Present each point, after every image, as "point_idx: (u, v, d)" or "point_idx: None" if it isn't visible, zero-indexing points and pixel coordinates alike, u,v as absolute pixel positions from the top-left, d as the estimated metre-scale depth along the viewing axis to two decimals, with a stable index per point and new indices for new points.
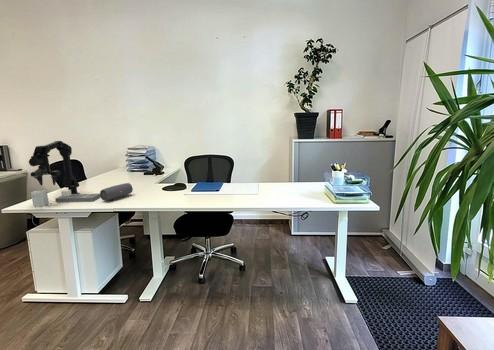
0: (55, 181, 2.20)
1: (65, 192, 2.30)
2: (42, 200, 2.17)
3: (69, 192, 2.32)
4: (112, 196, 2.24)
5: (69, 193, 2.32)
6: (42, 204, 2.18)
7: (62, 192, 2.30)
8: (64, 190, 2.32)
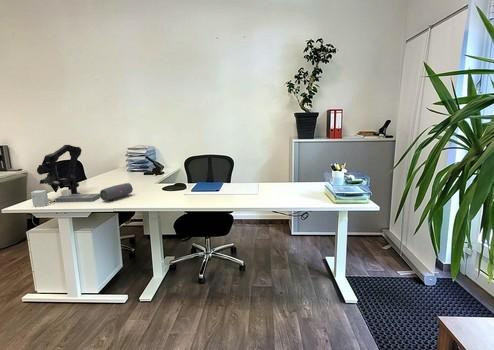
0: (57, 188, 2.32)
1: (65, 192, 2.30)
2: (42, 200, 2.17)
3: (69, 192, 2.32)
4: (112, 196, 2.24)
5: (69, 193, 2.32)
6: (42, 204, 2.18)
7: (62, 192, 2.30)
8: (64, 190, 2.32)
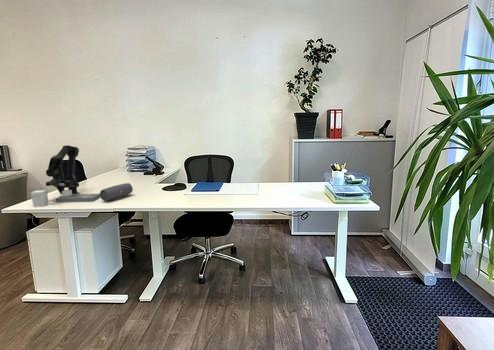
0: (63, 190, 2.32)
1: (66, 192, 2.30)
2: (42, 200, 2.17)
3: (70, 192, 2.32)
4: (112, 196, 2.24)
5: (70, 193, 2.32)
6: (42, 204, 2.18)
7: (62, 192, 2.30)
8: (65, 190, 2.32)
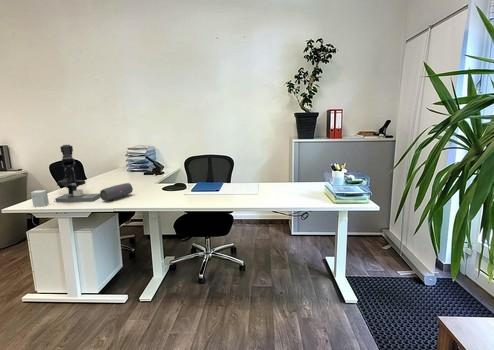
0: None
1: (77, 192, 2.29)
2: (42, 200, 2.17)
3: (81, 192, 2.31)
4: (112, 196, 2.24)
5: (81, 193, 2.31)
6: (42, 204, 2.18)
7: (74, 192, 2.29)
8: (76, 190, 2.31)
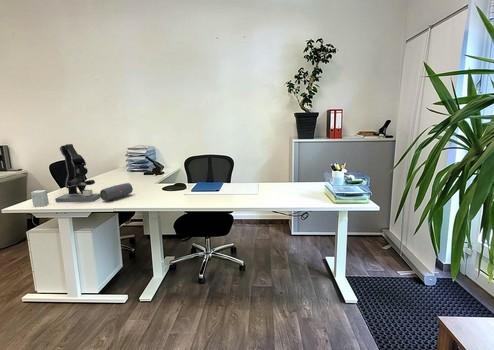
0: (83, 190, 2.31)
1: (87, 192, 2.29)
2: (42, 200, 2.17)
3: (90, 192, 2.31)
4: (112, 196, 2.24)
5: (90, 193, 2.31)
6: (42, 204, 2.18)
7: (83, 192, 2.29)
8: (85, 190, 2.31)
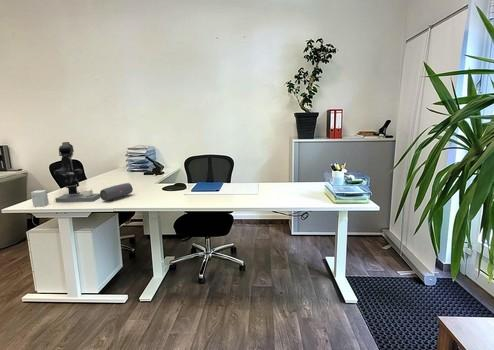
0: (71, 179, 2.32)
1: (87, 192, 2.29)
2: (42, 200, 2.17)
3: (91, 192, 2.31)
4: (112, 196, 2.24)
5: (91, 193, 2.31)
6: (42, 204, 2.18)
7: (83, 192, 2.29)
8: (86, 190, 2.31)
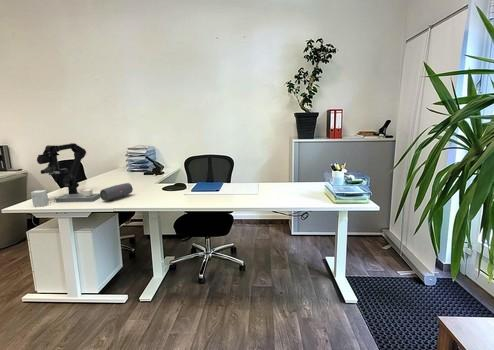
0: (58, 178, 2.35)
1: (87, 192, 2.29)
2: (42, 200, 2.17)
3: (91, 192, 2.31)
4: (112, 196, 2.24)
5: (91, 193, 2.31)
6: (42, 204, 2.18)
7: (83, 192, 2.29)
8: (86, 190, 2.31)
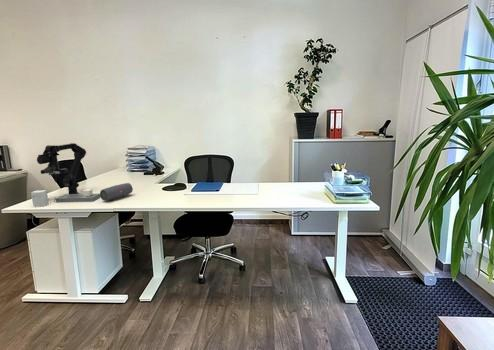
0: (58, 178, 2.35)
1: (87, 192, 2.29)
2: (42, 200, 2.17)
3: (91, 192, 2.31)
4: (112, 196, 2.24)
5: (91, 193, 2.31)
6: (42, 204, 2.18)
7: (83, 192, 2.29)
8: (86, 190, 2.31)
